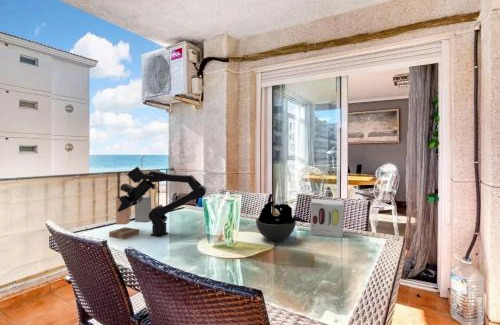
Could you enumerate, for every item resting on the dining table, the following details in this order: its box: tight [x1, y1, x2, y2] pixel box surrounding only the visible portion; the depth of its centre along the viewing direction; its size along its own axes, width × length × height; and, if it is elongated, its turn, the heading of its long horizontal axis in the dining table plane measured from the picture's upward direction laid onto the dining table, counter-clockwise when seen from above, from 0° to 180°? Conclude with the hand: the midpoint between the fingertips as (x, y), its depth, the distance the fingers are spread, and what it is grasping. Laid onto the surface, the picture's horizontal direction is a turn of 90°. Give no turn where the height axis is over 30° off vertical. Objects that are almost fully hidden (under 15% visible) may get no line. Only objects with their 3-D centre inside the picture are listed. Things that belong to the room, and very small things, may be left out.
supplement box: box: [309, 198, 345, 238], centre depth 157 cm, size 17×13×18 cm
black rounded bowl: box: [255, 200, 297, 242], centre depth 142 cm, size 20×20×19 cm
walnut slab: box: [108, 226, 140, 240], centre depth 145 cm, size 10×10×3 cm
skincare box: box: [134, 195, 152, 223], centre depth 177 cm, size 8×7×16 cm
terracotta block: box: [115, 197, 131, 225], centre depth 147 cm, size 5×5×13 cm
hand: (120, 210), depth 147 cm, fingers closed on terracotta block, 5 cm apart
